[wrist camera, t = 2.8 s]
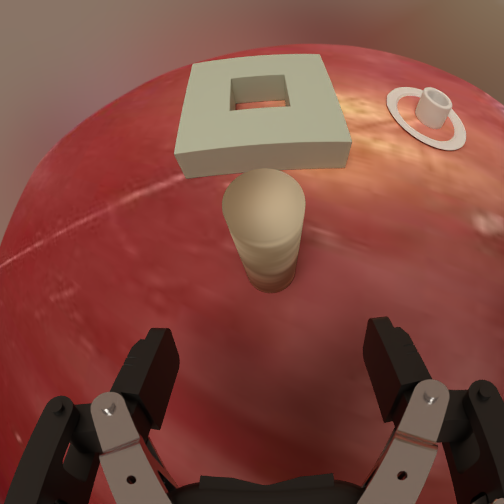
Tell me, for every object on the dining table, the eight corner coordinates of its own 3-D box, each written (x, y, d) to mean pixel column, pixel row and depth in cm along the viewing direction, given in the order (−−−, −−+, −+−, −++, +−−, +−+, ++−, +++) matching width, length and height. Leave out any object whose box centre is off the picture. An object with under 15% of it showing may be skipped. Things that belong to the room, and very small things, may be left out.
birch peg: (293, 245, 24) (300, 166, 14) (296, 291, 23) (310, 237, 13) (246, 248, 25) (222, 171, 14) (247, 294, 23) (221, 242, 13)
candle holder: (367, 101, 31) (374, 75, 27) (418, 85, 32) (426, 64, 28) (434, 166, 27) (449, 142, 23) (476, 139, 28) (489, 119, 24)
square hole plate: (317, 77, 32) (319, 54, 29) (344, 167, 27) (352, 141, 23) (199, 86, 34) (192, 64, 30) (186, 178, 28) (174, 154, 24)
